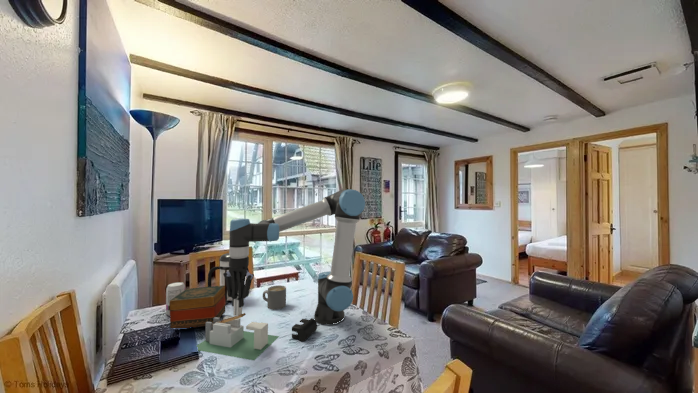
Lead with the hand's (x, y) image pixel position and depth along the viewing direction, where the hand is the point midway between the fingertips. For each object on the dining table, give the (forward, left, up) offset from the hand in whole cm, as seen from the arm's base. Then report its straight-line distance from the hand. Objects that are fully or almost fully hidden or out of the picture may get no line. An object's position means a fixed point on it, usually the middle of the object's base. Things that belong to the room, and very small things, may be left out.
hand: (237, 314), depth 112 cm
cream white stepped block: (-9, 0, -11) cm, 14 cm away
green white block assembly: (0, 0, -13) cm, 13 cm away
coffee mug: (+7, -41, -13) cm, 44 cm away
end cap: (-24, -13, -13) cm, 30 cm away
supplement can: (+51, -18, -13) cm, 56 cm away
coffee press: (+36, -40, -13) cm, 56 cm away
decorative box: (+30, -12, -13) cm, 35 cm away
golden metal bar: (+5, 0, -4) cm, 6 cm away
